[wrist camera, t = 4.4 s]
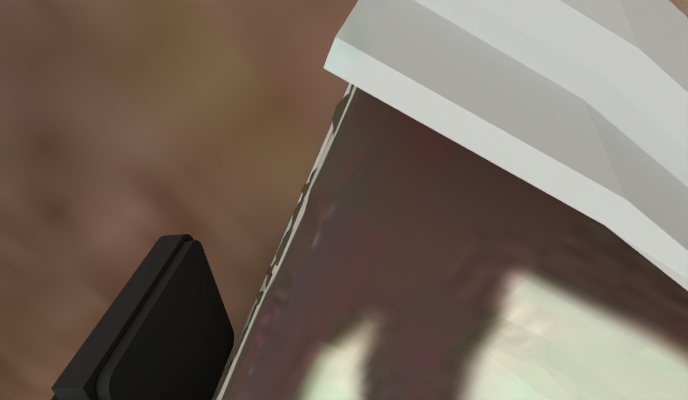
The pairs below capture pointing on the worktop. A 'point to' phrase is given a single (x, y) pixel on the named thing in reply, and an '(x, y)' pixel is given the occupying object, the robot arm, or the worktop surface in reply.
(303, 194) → the food container
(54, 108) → the worktop surface
